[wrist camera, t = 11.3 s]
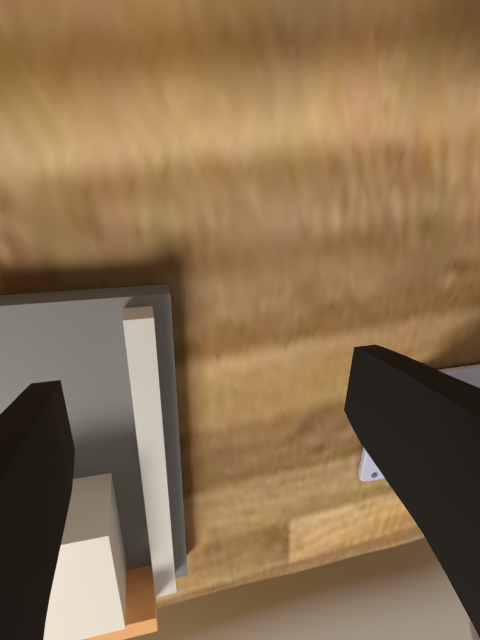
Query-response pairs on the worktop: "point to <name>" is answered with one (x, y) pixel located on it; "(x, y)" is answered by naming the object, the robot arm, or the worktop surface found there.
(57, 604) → the block
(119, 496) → the rail mount board
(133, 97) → the worktop surface
